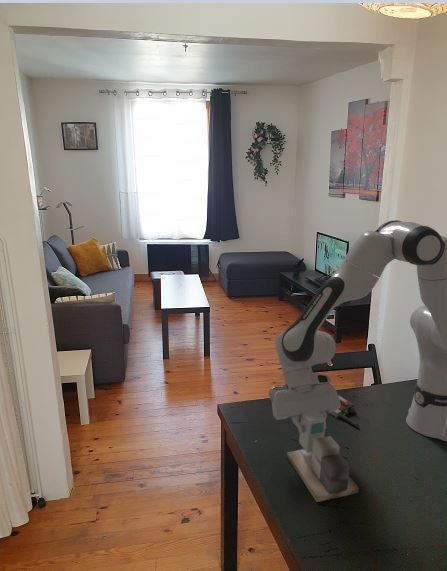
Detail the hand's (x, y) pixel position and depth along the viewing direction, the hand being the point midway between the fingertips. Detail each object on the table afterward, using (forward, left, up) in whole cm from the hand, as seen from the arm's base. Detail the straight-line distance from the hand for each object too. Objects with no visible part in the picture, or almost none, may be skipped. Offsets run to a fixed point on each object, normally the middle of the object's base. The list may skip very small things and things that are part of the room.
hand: (313, 430), depth 118 cm
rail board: (0, +6, -10) cm, 11 cm away
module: (0, -1, -5) cm, 5 cm away
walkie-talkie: (-22, -21, -11) cm, 32 cm away
